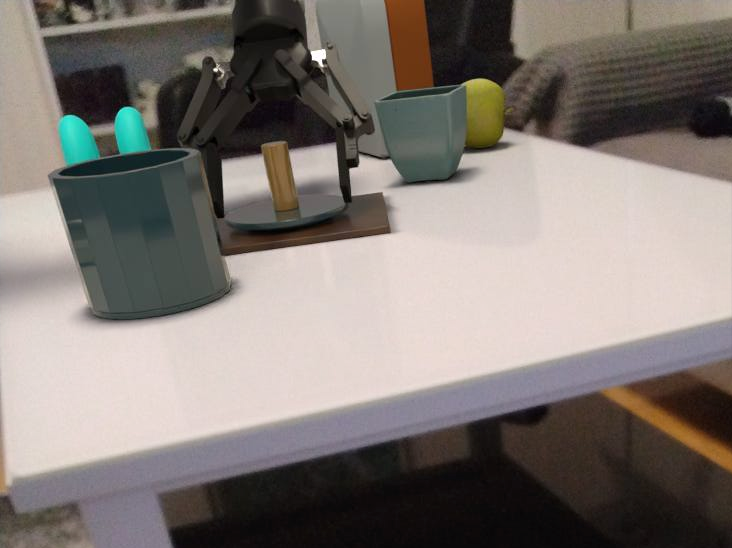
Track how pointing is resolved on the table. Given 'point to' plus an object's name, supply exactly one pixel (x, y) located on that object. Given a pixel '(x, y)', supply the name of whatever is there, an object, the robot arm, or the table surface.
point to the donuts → (82, 143)
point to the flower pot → (424, 130)
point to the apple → (484, 113)
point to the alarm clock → (377, 52)
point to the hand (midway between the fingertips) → (281, 202)
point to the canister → (142, 232)
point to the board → (313, 228)
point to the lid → (284, 199)
